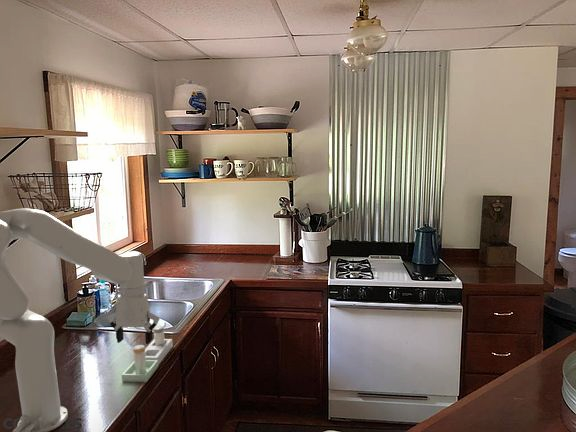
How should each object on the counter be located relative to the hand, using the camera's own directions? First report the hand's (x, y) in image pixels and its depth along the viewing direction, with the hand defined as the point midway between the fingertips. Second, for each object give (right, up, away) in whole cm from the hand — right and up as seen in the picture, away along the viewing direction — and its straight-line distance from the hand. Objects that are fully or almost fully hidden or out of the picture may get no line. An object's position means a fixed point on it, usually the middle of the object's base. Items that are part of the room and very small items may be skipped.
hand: (134, 341), depth 152 cm
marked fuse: (+1, -11, +3) cm, 12 cm away
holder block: (+3, -9, +16) cm, 19 cm away
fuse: (+3, -9, +20) cm, 22 cm away
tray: (+1, -12, +3) cm, 12 cm away
